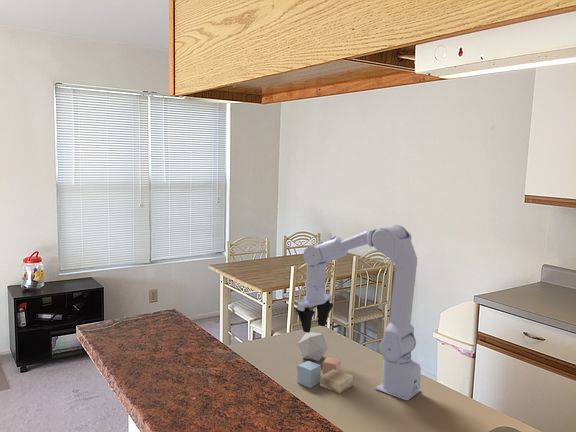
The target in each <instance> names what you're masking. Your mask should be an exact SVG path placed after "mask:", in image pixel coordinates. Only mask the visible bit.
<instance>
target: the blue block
mask: <svg viewBox="0 0 576 432" xmlns="http://www.w3.org/2000/svg"><path fill="white" fill-rule="evenodd" d="M321 370H322V365H321V364H319V363H315V362H313V361H312V360H311V361H310V360H306V361H304V362H302V363H300V364H298V365H297V377H296V378H297V379H296V381H297V384H300V385H302V386H304V387H308V388H309V389H311V388H313V387H315V386H317V385H319V384H320V376H322V374H321V373H322V371H321Z"/></svg>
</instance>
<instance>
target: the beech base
mask: <svg viewBox="0 0 576 432" xmlns="http://www.w3.org/2000/svg"><path fill="white" fill-rule="evenodd" d="M319 386H320V387H323V388H325V389H327V388H328V390H330V391H333V392H335V393H338V394H341V393H343V392H344V391H347V390H348V389H349V388H350V387H353V386H354V375H352V374H349V373H347V372H344V371H341V370H340V371H338V370H335V369H333V370H331V371H329V372H327V373H326V374H324V375H322V374H321V375H320V383H319Z"/></svg>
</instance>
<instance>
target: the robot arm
mask: <svg viewBox="0 0 576 432" xmlns="http://www.w3.org/2000/svg"><path fill="white" fill-rule="evenodd" d="M412 237H413V236H412V234H411V233H410V232H409V231H408V230H407V229H406V228H405V227H404V226H402V225H399V224H397V225H392V226H387V227H379V228H374V229H368V230H365V231H362V232H359V233H358V234H356V235H352V236H350V237H348V238H342V237H337V236H332V237H329V238H330V239H329V240H327V241H318V243H317V244H316V245H309V246H307V248H305V249H304V251H303V253H302V255H303V261H304V262H305V264H306V281H305V286H306V287H305V296H303V299H302V300H301V301H300V302H297V307H296V308H295V312H296V313H297V315H298V317H299V320H300V323H301V327H302V330H303V332H304V333H309V332H311V328H312V327H311V326H312V319H313V316H314V314H315V311H314V310H311V309H310V308H312V307H315V306H316V311H317V312H316V313H317V324H318V326H321V327H323V328H324V327H326V323H327V319H328V317H329V314H330V312H331V311H332V309H333V307H334V303H332V300H333V298H332V297H333V295H332V294H328V293H326V279H327V278H326V277H327V275H326V273H327V268H328V267H327V266H328V263H329V262H331V261H334V260H338V259H340V258H343V257H346V255H347V254H348V252H349V250H352V249H356V248H360V247H362V246H366V245H367V246H369V248H370V247H371V248H372V247H374V248H375V250H377V251H378V253H381V254H382V255H383V256H386V257H387V258H389V260H391V261H392V263H393V264H394V274H393V275H394V277H393V285H392V295H391V304H390V312H389V313H390V314H389V322H388V324H387V326H386V328H385V330H384V332H383V338H382V339H381V340H380V342H379V352H380V354H381V356H382V357H383V359H382V360H383V361H382V363H383V364H382V377H381V378H382V379H381V381H382V383H380V384H378V385H377V386H375V390H377V391H380V392H383V393H385V394H388V395H390V396H392V397H396V398H399V399H400V400H401V399H402V400H404V401H409V400H411V399H412V398H413V397H414V396H416V395H417V394H418V393H419V392H421V390H422V389H421V388H420V385H421V366H420V364H419V363H418V362H415V361H414V360H413V359H412V352H413V350H414V349H415V348H416V346H417V339H416V337H415V327H414V326H413V325H412V324H411V320H412V312H413V302H414V293H415V285H416V284H415V283H416V277H417V276H416V275H417V268H418V267H417V266H418V257H417V253H416V251H415V248H414V246H413V243H412Z"/></svg>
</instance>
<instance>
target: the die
mask: <svg viewBox="0 0 576 432" xmlns="http://www.w3.org/2000/svg"><path fill="white" fill-rule="evenodd" d="M297 345H298V347H299V351H300V353H301V355H302V359H304V360H309V361H310V360H311V361H315V362H319V361H320V360H321V358H323V357H324V354H326V352H327V351H328V349H329V348H328V345H327V342H326V340H325V337H324V334H323V333H319V332H313V331H310V332H309V333H307V332H305V334H304V335H303V336H302V338H301V339H300V340H299V341H298V342H297Z"/></svg>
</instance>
